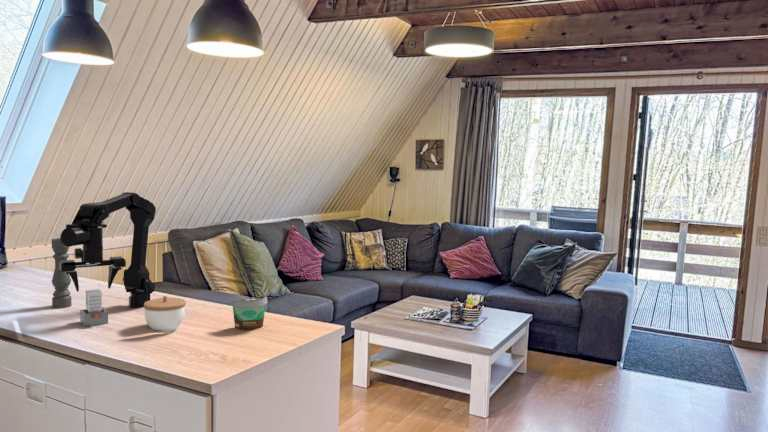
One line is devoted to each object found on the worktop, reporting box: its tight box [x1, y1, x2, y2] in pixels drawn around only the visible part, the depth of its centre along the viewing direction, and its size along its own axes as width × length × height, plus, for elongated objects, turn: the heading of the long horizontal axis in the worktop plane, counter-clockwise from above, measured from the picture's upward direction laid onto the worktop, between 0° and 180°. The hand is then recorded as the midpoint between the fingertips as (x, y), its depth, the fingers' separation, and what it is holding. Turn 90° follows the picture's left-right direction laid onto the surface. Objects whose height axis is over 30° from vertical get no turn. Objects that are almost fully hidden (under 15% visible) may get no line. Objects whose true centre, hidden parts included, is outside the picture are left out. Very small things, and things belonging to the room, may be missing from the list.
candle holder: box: [51, 237, 72, 309], centre depth 203 cm, size 6×6×25 cm
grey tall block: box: [85, 288, 103, 314], centre depth 181 cm, size 4×4×10 cm
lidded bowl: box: [143, 295, 187, 334], centre depth 179 cm, size 13×13×11 cm
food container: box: [230, 295, 268, 331], centre depth 183 cm, size 12×6×10 cm, turn 117°
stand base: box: [79, 306, 109, 327], centre depth 181 cm, size 14×14×5 cm
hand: (93, 289), depth 180 cm, fingers open, 9 cm apart
